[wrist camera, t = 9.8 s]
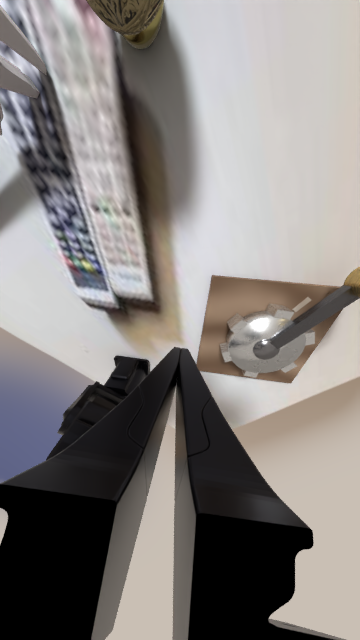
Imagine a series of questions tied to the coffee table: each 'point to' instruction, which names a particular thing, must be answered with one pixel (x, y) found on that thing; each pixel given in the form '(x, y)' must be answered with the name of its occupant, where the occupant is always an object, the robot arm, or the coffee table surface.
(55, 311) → the coffee table surface
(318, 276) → the coffee table surface
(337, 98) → the coffee table surface
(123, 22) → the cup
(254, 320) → the ring nut
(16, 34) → the caliper
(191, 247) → the coffee table surface
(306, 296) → the nut base
